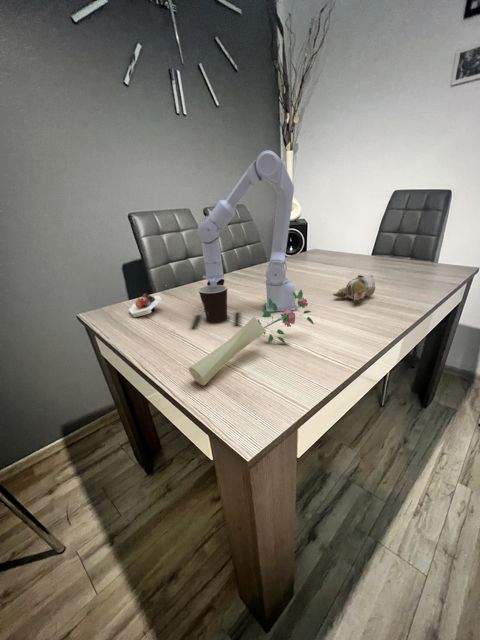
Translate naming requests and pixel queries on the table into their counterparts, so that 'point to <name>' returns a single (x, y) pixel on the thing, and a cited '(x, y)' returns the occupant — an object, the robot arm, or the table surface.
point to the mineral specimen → (144, 305)
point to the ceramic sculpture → (358, 288)
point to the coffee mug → (214, 303)
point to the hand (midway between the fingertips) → (218, 301)
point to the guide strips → (198, 318)
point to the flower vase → (242, 341)
